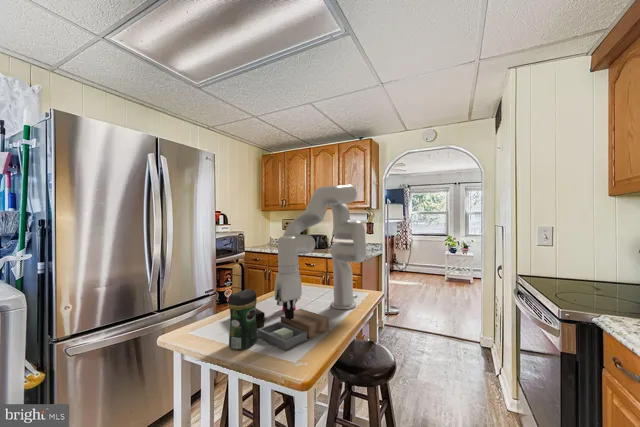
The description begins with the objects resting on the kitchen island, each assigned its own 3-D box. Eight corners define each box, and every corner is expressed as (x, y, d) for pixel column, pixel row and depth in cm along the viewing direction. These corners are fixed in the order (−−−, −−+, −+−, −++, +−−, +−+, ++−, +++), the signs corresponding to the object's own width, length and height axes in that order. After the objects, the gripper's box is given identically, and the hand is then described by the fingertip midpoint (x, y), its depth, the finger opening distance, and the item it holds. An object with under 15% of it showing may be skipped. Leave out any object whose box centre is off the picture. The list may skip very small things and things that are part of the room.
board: (300, 320, 115) (300, 308, 115) (328, 330, 104) (328, 317, 104) (280, 328, 107) (280, 315, 107) (309, 339, 96) (308, 325, 96)
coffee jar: (244, 337, 99) (243, 286, 100) (261, 341, 96) (260, 288, 96) (224, 348, 91) (223, 293, 91) (242, 353, 87) (241, 295, 88)
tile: (273, 331, 97) (273, 337, 97) (282, 335, 94) (282, 341, 94) (284, 327, 101) (284, 332, 101) (293, 331, 98) (293, 336, 98)
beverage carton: (247, 314, 124) (247, 300, 124) (265, 327, 108) (265, 311, 109) (230, 318, 119) (230, 303, 119) (246, 333, 104) (246, 315, 104)
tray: (278, 329, 106) (278, 321, 106) (307, 340, 95) (306, 332, 95) (257, 337, 99) (257, 329, 99) (285, 351, 88) (285, 342, 88)
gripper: (296, 265, 108) (297, 310, 108) (266, 271, 97) (267, 321, 97) (309, 267, 103) (310, 314, 103) (279, 273, 92) (280, 327, 92)
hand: (289, 318), depth 100 cm, fingers closed
